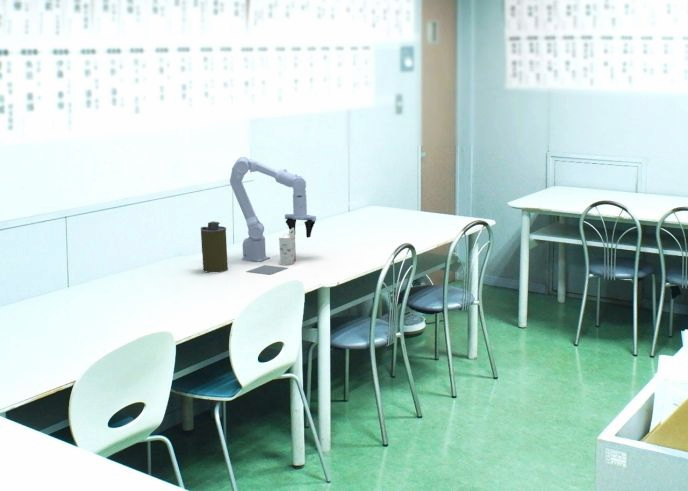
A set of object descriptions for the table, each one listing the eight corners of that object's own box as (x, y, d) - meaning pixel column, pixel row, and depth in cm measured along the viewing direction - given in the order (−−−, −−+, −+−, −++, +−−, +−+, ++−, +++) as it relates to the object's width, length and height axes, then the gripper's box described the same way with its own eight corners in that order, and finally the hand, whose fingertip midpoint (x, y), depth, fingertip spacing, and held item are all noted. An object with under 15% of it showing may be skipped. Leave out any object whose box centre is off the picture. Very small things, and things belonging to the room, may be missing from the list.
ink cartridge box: (285, 260, 422) (283, 226, 419) (296, 260, 421) (295, 226, 418) (279, 264, 414) (278, 230, 411) (291, 265, 413) (290, 230, 410)
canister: (233, 268, 409) (230, 220, 405) (218, 273, 400) (216, 225, 396) (211, 266, 414) (209, 219, 410) (196, 271, 406) (194, 223, 401)
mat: (246, 272, 402) (246, 271, 402) (264, 266, 413) (264, 265, 413) (270, 275, 396) (270, 274, 396) (288, 269, 407) (288, 267, 407)
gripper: (280, 205, 421) (281, 237, 424) (309, 207, 414) (310, 239, 417) (289, 203, 427) (290, 234, 430) (318, 205, 420) (319, 236, 423)
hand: (300, 236), depth 424 cm, fingers open, 7 cm apart
